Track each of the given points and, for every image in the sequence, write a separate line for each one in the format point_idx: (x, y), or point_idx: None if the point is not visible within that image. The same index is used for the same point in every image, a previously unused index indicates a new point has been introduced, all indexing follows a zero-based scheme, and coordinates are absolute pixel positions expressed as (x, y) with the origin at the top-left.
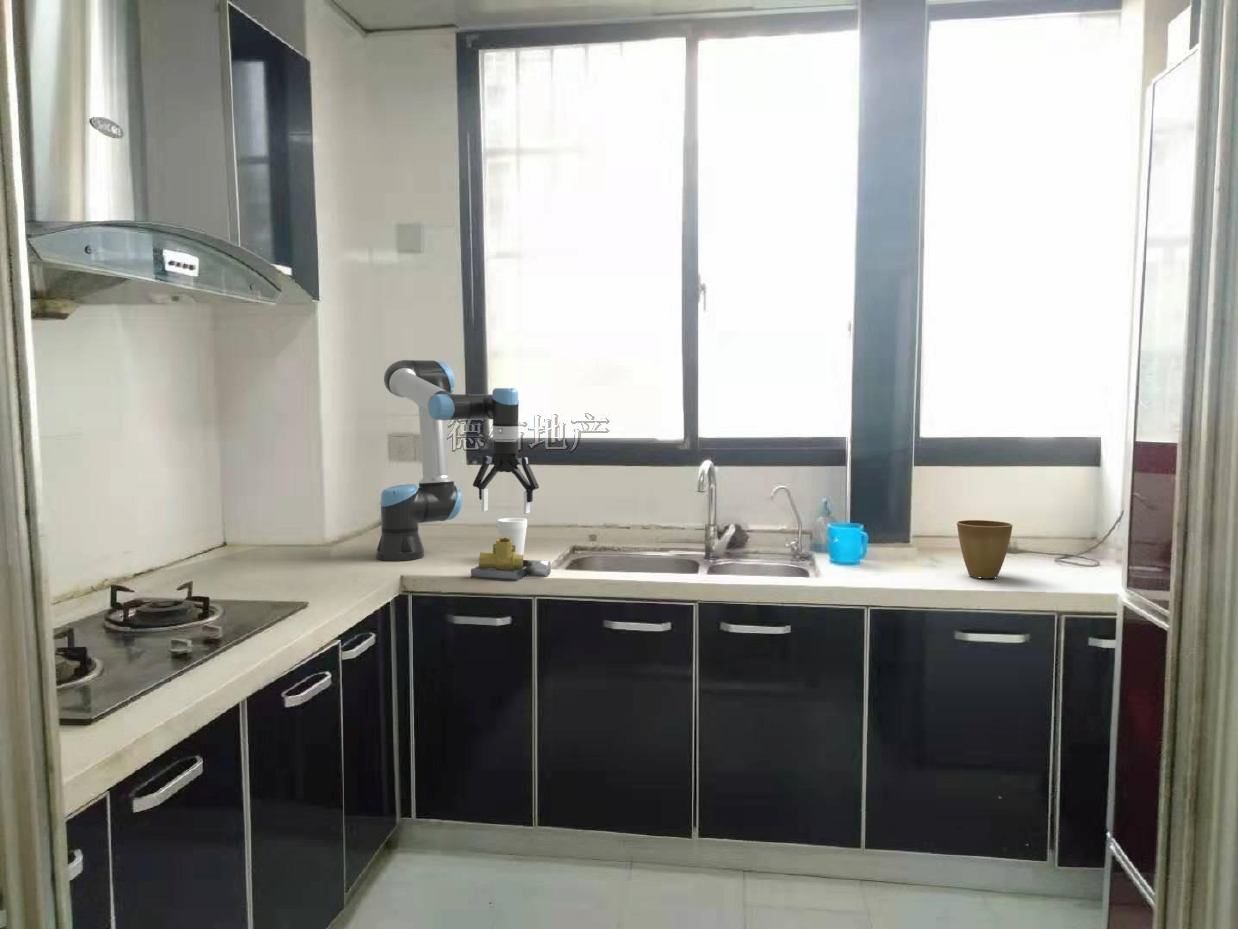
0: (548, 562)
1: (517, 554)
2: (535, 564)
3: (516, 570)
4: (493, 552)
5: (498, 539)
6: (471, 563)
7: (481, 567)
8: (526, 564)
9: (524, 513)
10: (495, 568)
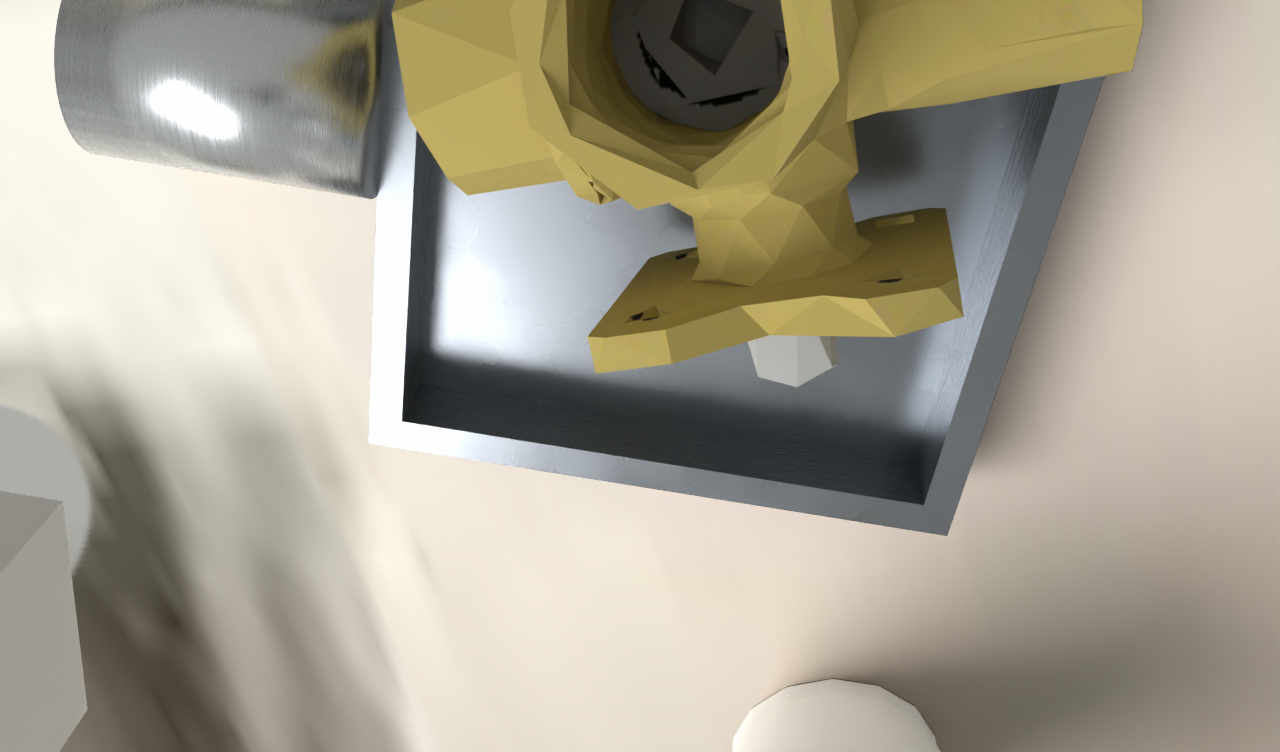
0: (66, 86)
1: (763, 749)
2: (231, 8)
3: None
4: (941, 245)
5: (800, 46)
6: (1266, 571)
7: None
8: (554, 418)
9: (32, 501)
10: None
